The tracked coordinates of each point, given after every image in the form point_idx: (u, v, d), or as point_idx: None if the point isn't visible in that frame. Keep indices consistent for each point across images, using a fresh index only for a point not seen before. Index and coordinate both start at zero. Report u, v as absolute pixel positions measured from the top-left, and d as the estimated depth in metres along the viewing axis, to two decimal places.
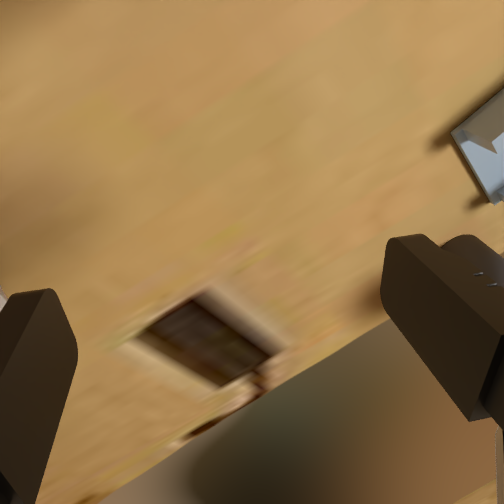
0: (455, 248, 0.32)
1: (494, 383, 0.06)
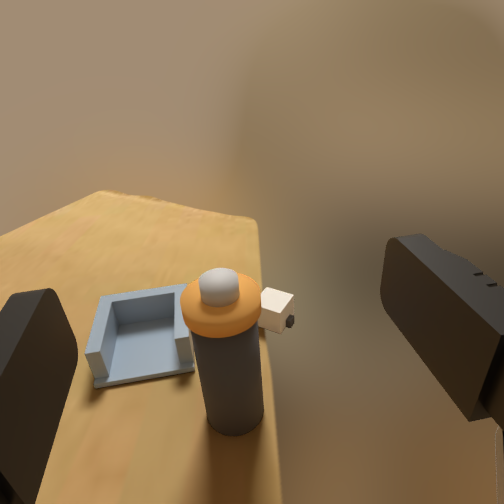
0: None
1: (494, 383, 0.06)
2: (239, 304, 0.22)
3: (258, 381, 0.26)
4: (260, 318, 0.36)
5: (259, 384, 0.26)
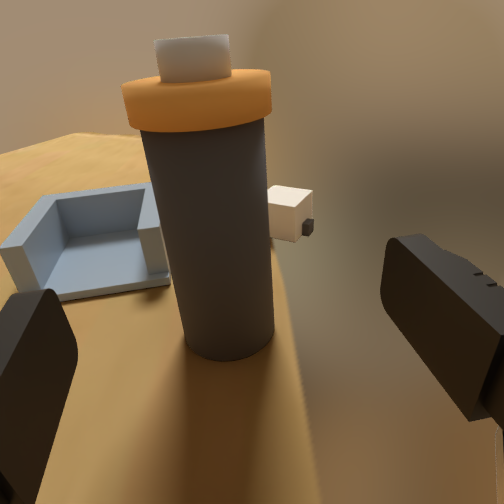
0: None
1: (494, 383, 0.06)
2: (231, 78, 0.12)
3: (266, 262, 0.15)
4: None
5: (268, 270, 0.16)
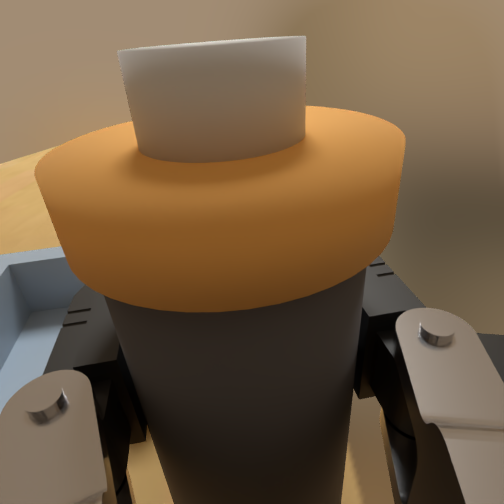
0: None
1: (372, 362, 0.07)
2: (319, 152, 0.04)
3: (344, 465, 0.08)
4: None
5: (343, 471, 0.09)
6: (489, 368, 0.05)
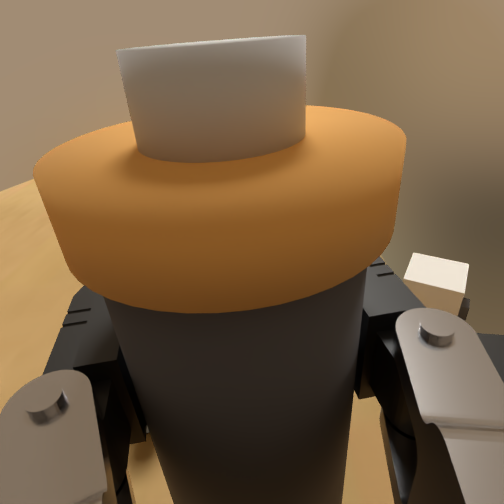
0: None
1: (372, 362, 0.07)
2: (319, 152, 0.04)
3: (344, 466, 0.08)
4: None
5: (344, 472, 0.08)
6: (489, 368, 0.05)
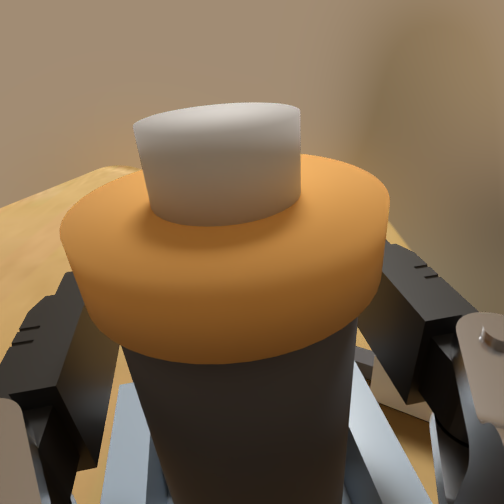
0: None
1: (424, 367, 0.07)
2: (312, 216, 0.05)
3: (342, 488, 0.09)
4: None
5: (342, 493, 0.09)
6: None
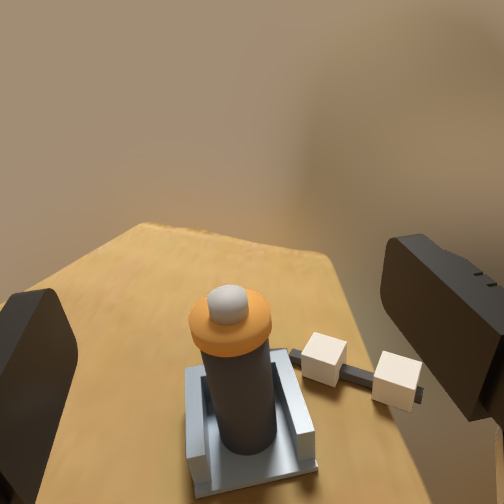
0: None
1: (494, 383, 0.06)
2: (249, 322, 0.22)
3: (271, 399, 0.25)
4: (383, 393, 0.29)
5: (272, 402, 0.26)
6: None
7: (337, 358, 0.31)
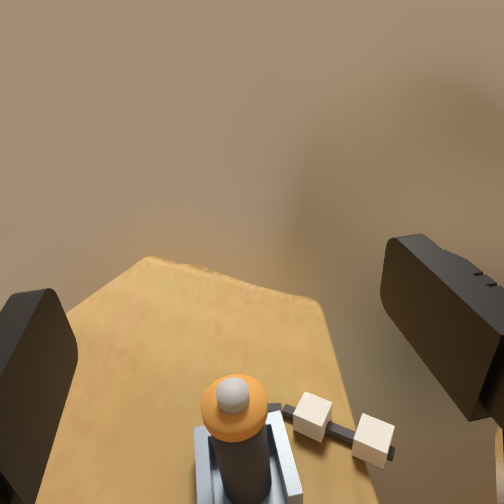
0: None
1: (494, 383, 0.06)
2: (250, 412, 0.27)
3: (267, 463, 0.31)
4: (361, 452, 0.35)
5: (267, 465, 0.31)
6: None
7: (323, 419, 0.36)
